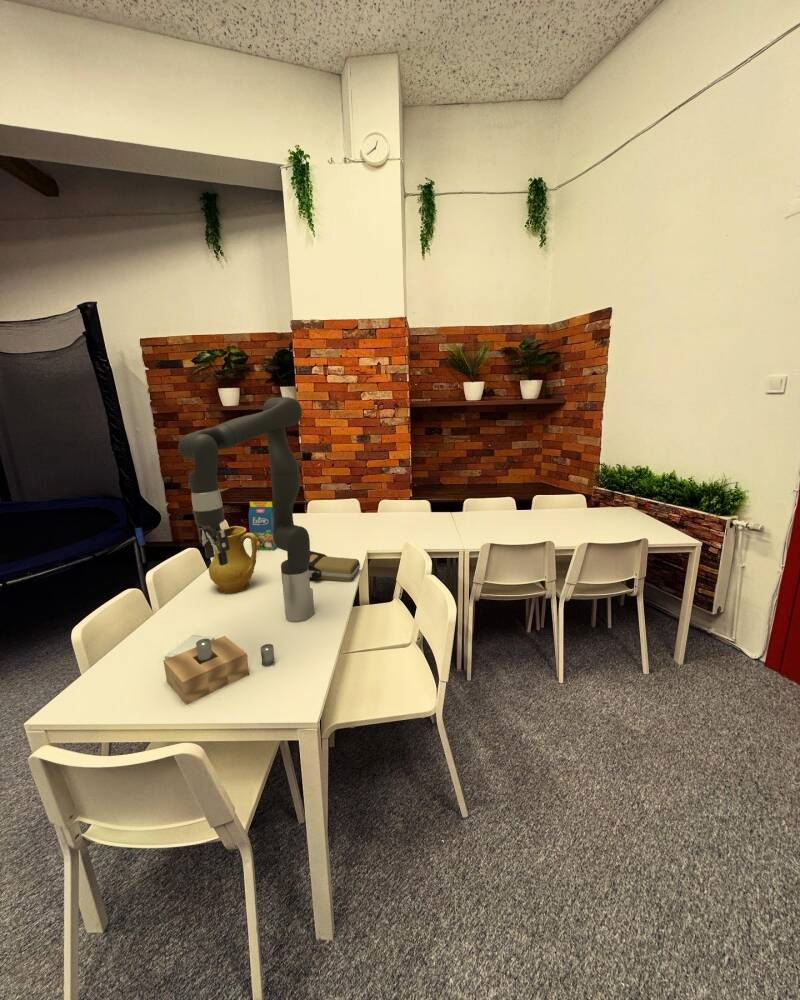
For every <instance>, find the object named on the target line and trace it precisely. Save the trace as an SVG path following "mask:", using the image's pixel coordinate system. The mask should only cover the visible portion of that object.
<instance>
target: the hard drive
mask: <svg viewBox="0 0 800 1000" xmlns="http://www.w3.org/2000/svg"><path fill="white" fill-rule="evenodd" d="M201 639H210V641H213V640H215V636H210V635H202V634H201V635H200V634H199V635H198V634H191V635H190V636H189V637H188V638H186V640H184V641H183V642H181V643H180V644H179V645H177V646H176V647H175V648H173V649H172V650H171V651H170V652H169V653H167V654H166V655H165V656H164V660H165V659H168V658H170V657H173V656H175V655H178V654H180V653H183V652H185V651H188V650H190V649H193V648H195V647H196V642H197V641H199V640H201Z"/></svg>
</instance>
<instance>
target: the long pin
mask: <svg viewBox="0 0 800 1000" xmlns="http://www.w3.org/2000/svg"><path fill="white" fill-rule="evenodd" d="M196 648H197V654H198V661H199V664H202V663H204V662H207V661H209V660H211V659H213V656H212V649H211V641H210V639H201V640H199V641H197V642H196Z"/></svg>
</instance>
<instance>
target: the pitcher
mask: <svg viewBox="0 0 800 1000" xmlns="http://www.w3.org/2000/svg"><path fill="white" fill-rule="evenodd" d="M224 529H226V531H227V536H228V541H229V547H230V550H228V551H226V554H227V560H228V563H227V564H225V565H222V566H221V565H219V560H218V554H217V551H216V548H215V547H214V555H215V556H214V557H213V558H212V561H211V562H210V564H209V567H208V574H209V575H208V576H209V579H210V580H211V582H213V583H214V584H215V585H217V586H218V587H217V591H218V592H219V593H222V594H225V595H226V594H235V593H240V592H241V591H244V590H246V589H248V588H249V587H250V585H251V584H250V583H249V581H250V580H251V578H252V576H253V574H254V573H255V566H256V563H257V553H258V550H257V538H256V535H255V534H253V533H250V532H247V528H246V527H244V526H238V525H233V526H229V527H227V528H221V530H224ZM246 539H249V540H250V542H251V541H252V545H251V556H250V555H249V554H248V553H247V551H246V549H245V548H246V547H245V545H244V543H245V541H246ZM225 545H226V544H225ZM218 547H219V546H218ZM222 548H223V547H222Z"/></svg>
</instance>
